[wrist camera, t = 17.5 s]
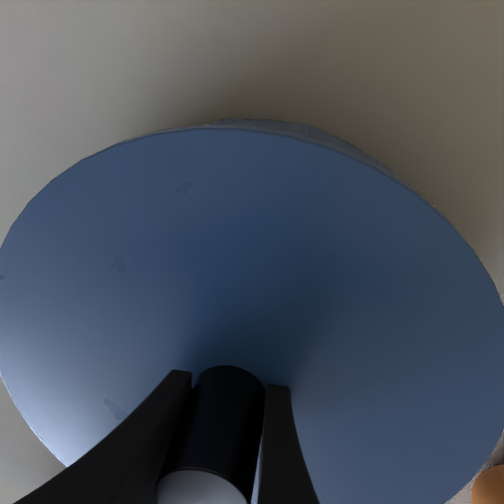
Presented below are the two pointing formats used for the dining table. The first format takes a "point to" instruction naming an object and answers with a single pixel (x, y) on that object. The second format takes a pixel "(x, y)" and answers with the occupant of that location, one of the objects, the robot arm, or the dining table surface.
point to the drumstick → (489, 486)
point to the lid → (255, 315)
